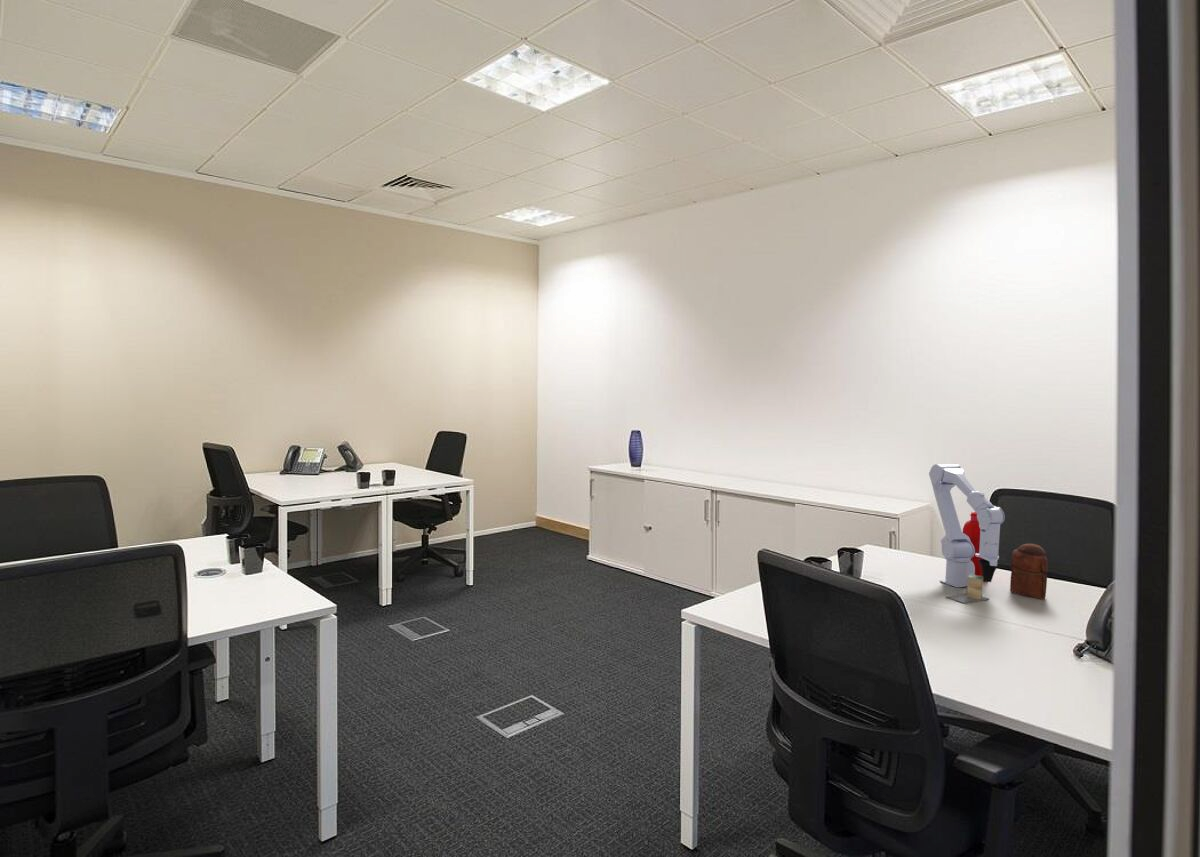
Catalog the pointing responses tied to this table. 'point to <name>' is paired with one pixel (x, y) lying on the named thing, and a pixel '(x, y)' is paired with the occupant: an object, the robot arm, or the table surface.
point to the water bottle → (974, 539)
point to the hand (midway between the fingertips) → (987, 581)
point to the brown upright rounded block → (1029, 571)
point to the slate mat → (965, 598)
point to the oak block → (975, 586)
